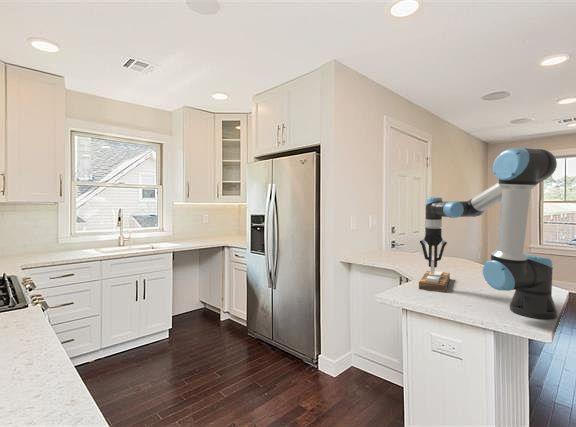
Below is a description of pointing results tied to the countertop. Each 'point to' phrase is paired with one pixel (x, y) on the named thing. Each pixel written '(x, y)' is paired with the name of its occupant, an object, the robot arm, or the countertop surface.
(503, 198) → the robot arm
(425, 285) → the button board
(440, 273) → the middle button
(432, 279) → the near button
